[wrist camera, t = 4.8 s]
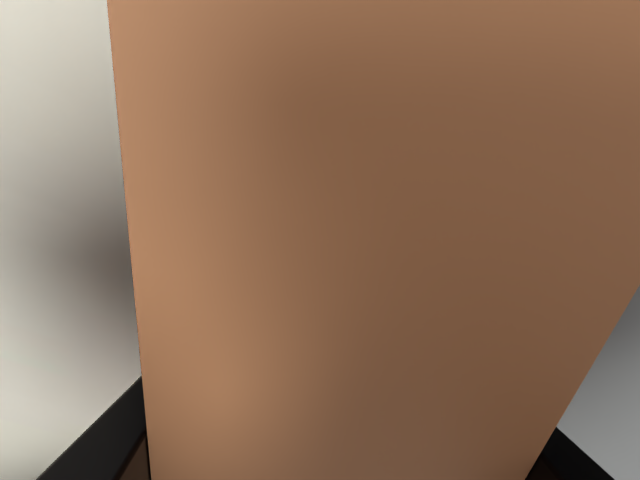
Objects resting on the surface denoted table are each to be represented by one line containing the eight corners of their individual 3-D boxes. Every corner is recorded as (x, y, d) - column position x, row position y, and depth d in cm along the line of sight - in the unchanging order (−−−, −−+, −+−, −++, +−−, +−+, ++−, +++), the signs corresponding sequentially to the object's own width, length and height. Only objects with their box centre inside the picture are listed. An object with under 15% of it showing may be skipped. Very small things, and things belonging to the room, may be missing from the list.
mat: (629, 478, 18) (635, 487, 18) (159, 455, 17) (156, 465, 16) (1198, -248, 8) (1238, -258, 7) (84, -513, 6) (70, -543, 6)
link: (391, 543, 14) (411, 671, 11) (194, 536, 13) (168, 669, 11) (636, -82, 6) (881, -126, 4) (183, -161, 6) (82, -280, 3)
